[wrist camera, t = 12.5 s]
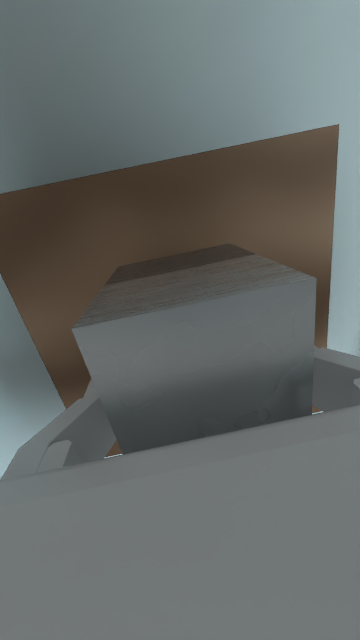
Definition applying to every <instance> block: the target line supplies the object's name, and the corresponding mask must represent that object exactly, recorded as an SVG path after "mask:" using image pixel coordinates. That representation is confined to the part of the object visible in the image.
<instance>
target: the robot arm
mask: <svg viewBox="0 0 360 640" xmlns="http://www.w3.org/2000/svg"><path fill="white" fill-rule="evenodd" d="M312 405H313V406H315V407H316V408H318V409H320V410H322V411H323V412H322V413H318V414H313V415H308V416H303V417H299V418H294V419H289V420H285V421H280V422H275V423H270V424H266V425H261V426H256V427H251V428H247V429H242V430H237V431H233V432H228V433H223V434H218V435H214V436H209V437H204V438H199V439H195V440H190V441H185V442H181V443H176V444H171V445H166V446H162V447H157V448H152V449H147V450H143V451H138V452H133V453H128V454H124V455H119V456H114V457H110V458H105V459H104V457H105V456H106V455H107V453H108V452H109V450H110V449H111V447H112V446H113V444H114V443H115V441H116V440H117V439H116V437H115V435H114V432H113V430H112V427H111V425H110V422H109V420H108V417H107V415H106V413H105V410H104V408H103V405H102V403H101V400H100V398H99V395H98V393H97V391H96V388H95V386H94V383H93V381H92V378H91V380H90V382H89V385H88V387H87V390H86V392H85V395H84V397H83V398H81V399H78V400H77V401H76V402H75V403H74V404H72V405H71V406H70V407H69V408H67V409H66V410H65V411H64V412H63V413H61V414H60V415H59V416H58V417H57V418H55V419H54V420H53V421H52V422H51V423H49V424H48V425H47V426H46V427H45V428H43V429H42V430H41V431H40V432H39V433H37V434H36V435H35V436H34V437H32V438H31V439H30V440H29V441H28V442H26V443H25V444H24V445H23V446H22V447H20V448H19V449H18V451H17V453H16V454H15V456H14V458H13V459H12V461H11V463H10V464H9V466H8V468H7V469H6V471H5V473H4V475H3V476H2V478H1V480H0V640H360V357H358V356H354V355H350V354H346V353H342V352H338V351H334V350H331V349H327V348H318V347H316V346H315V345H314V366H313V395H312Z"/></svg>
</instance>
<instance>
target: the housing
mask: <svg viewBox="0 0 360 640" xmlns="http://www.w3.org/2000/svg"><path fill="white" fill-rule="evenodd" d="M316 279H317V278H315V277H312V276H310V275H307V274H305V273H302V272H300V271H297V270H295V269H292V268H290V267H287V266H285V265H282V264H280V263H277V262H275V261H272V260H270V259H267V258H265V257H262V256H260V255H258V254H255V253H253V252H250V251H248V250H245V249H243V248H240V247H238V246H235V245H233V244H230V243H228V244H223V245H218V246H214V247H209V248H204V249H199V250H194V251H190V252H185V253H180V254H175V255H170V256H166V257H161V258H156V259H151V260H146V261H142V262H137V263H132V264H127V265H122V266H118V267H117V269H116V270H115V271H114V273H113V274H112V275H111V277H110V278H109V279H108V281H107V282H106V284H105V285H104V286H103V288H102V289H101V290H100V292H99V293H98V294H97V296H96V297H95V298H94V300H93V301H92V302H91V304H90V305H89V306H88V308H87V309H86V310H85V312H84V313H83V315H82V316H81V317H80V319H79V320H78V321H77V323H76V324H75V325H74V327H73V328H72V332H73V334H74V337H75V339H76V342H77V344H78V346H79V349H80V351H81V354H82V356H83V359H84V361H85V364H86V366H87V368H88V371H89V373H90V376H91V378H92V381H93V383H94V386H95V388H96V391H97V393H98V395H99V398H100V400H101V403H102V405H103V408H104V410H105V413H106V415H107V417H108V420H109V422H110V425H111V427H112V430H113V432H114V435H115V437H116V439H117V442H118V444H119V447H120V449H121V452H122V454H123V455H124V454H128V453H133V452H138V451H143V450H147V449H152V448H157V447H162V446H166V445H171V444H176V443H181V442H185V441H190V440H195V439H199V438H204V437H209V436H214V435H218V434H223V433H228V432H233V431H237V430H242V429H247V428H251V427H256V426H261V425H266V424H270V423H275V422H280V421H285V420H289V419H294V418H299V417H303V416H308V415H312V395H313V366H314V337H315V308H316Z"/></svg>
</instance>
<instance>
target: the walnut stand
mask: <svg viewBox="0 0 360 640" xmlns="http://www.w3.org/2000/svg"><path fill="white" fill-rule="evenodd" d="M338 136H339V124H338V125H333V126H328V127H323V128H318V129H313V130H308V131H304V132H299V133H294V134H289V135H284V136H279V137H274V138H270V139H265V140H260V141H255V142H250V143H245V144H241V145H236V146H231V147H226V148H221V149H216V150H211V151H207V152H202V153H197V154H192V155H187V156H182V157H177V158H173V159H168V160H163V161H158V162H153V163H148V164H143V165H139V166H134V167H129V168H124V169H119V170H114V171H110V172H105V173H100V174H95V175H90V176H85V177H80V178H76V179H71V180H66V181H61V182H56V183H51V184H46V185H42V186H37V187H32V188H27V189H22V190H17V191H12V192H8V193H3V194H0V274H1V276H2V278H3V280H4V282H5V284H6V286H7V288H8V290H9V292H10V294H11V296H12V298H13V300H14V302H15V305H16V307H17V309H18V311H19V313H20V315H21V317H22V319H23V321H24V323H25V325H26V327H27V329H28V331H29V333H30V335H31V337H32V339H33V342H34V344H35V346H36V348H37V350H38V352H39V354H40V356H41V358H42V360H43V362H44V364H45V366H46V368H47V370H48V372H49V374H50V377H51V379H52V381H53V383H54V385H55V387H56V389H57V391H58V393H59V395H60V397H61V399H62V401H63V403H64V405H65V407H66V409H67V408H69V407H70V406H71V405H72V404H74V403H75V402H76V401H77V400H78V399H81V398H83V397H84V395H85V392H86V390H87V387H88V385H89V382H90V380H91V376H90V373H89V371H88V368H87V366H86V364H85V361H84V359H83V356H82V354H81V351H80V349H79V346H78V344H77V342H76V339H75V337H74V334H73V332H72V328H73V327H74V325H75V324H76V323H77V321H78V320H79V319H80V317H81V316H82V315H83V313H84V312H85V310H86V309H87V308H88V306H89V305H90V304H91V302H92V301H93V300H94V298H95V297H96V296H97V294H98V293H99V292H100V290H101V289H102V288H103V286H104V285H105V284H106V282H107V281H108V279H109V278H110V277H111V275H112V274H113V273H114V271H115V270H116V269H117V267H118V266H122V265H127V264H132V263H137V262H142V261H146V260H151V259H156V258H161V257H166V256H170V255H175V254H180V253H185V252H190V251H194V250H199V249H204V248H209V247H214V246H218V245H223V244H228V243H230V244H233V245H235V246H238V247H240V248H243V249H245V250H248V251H250V252H253V253H255V254H258V255H260V256H262V257H265V258H267V259H270V260H272V261H275V262H277V263H280V264H282V265H285V266H287V267H290V268H292V269H295V270H297V271H300V272H302V273H305V274H307V275H310V276H312V277H315V278H317V279H316V308H315V337H314V345H315V346H316V347H318V348H327V332H328V314H329V297H330V279H331V261H332V243H333V225H334V207H335V189H336V171H337V153H338ZM320 411H322V410H320V409H318V408H316V407H315V406H313V405H312V413H315V412H320ZM117 454H122V452H121V449H120V447H119V444H118V442H117V440H116V441H115V443H114V444H113V446H112V447H111V449H110V450H109V452H108V453H107V455H106V456H105V457H108V456H113V455H117Z"/></svg>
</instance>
